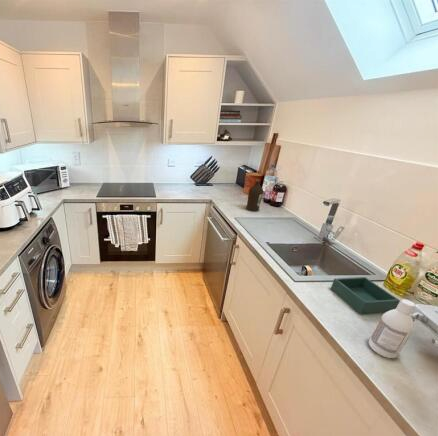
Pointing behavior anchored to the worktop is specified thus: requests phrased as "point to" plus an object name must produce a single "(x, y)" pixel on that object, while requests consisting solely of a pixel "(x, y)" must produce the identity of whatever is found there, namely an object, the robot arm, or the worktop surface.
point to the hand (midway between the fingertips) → (419, 329)
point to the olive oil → (254, 196)
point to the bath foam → (393, 330)
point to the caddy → (364, 295)
